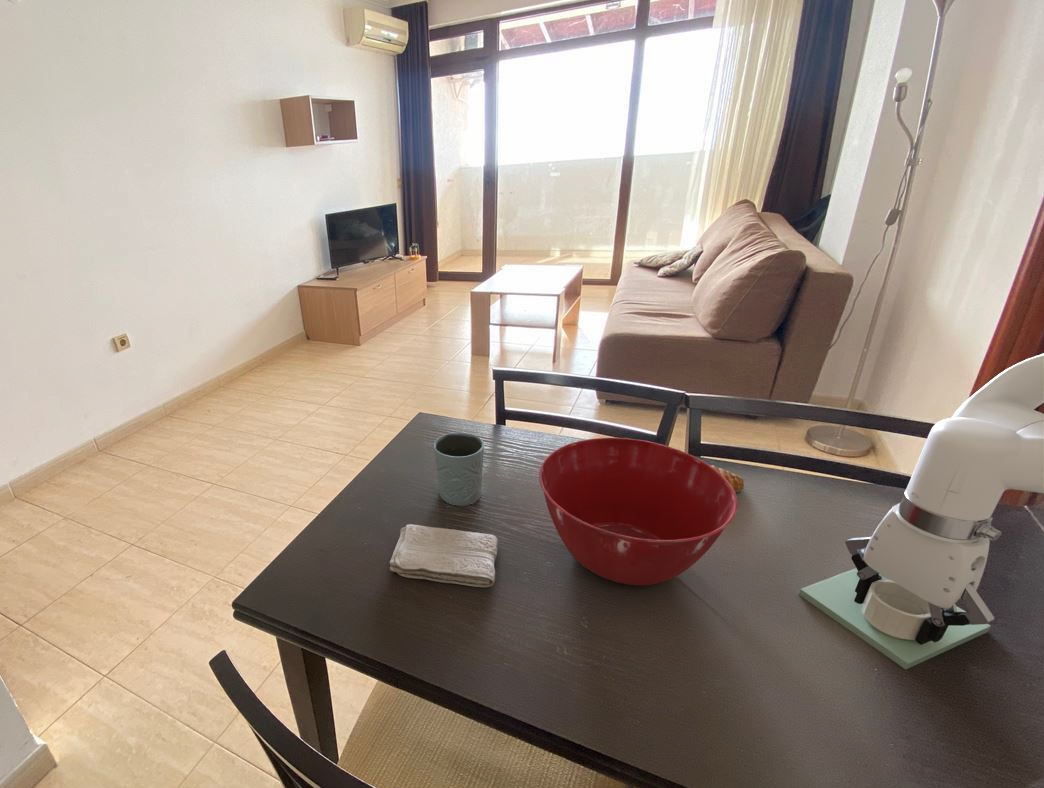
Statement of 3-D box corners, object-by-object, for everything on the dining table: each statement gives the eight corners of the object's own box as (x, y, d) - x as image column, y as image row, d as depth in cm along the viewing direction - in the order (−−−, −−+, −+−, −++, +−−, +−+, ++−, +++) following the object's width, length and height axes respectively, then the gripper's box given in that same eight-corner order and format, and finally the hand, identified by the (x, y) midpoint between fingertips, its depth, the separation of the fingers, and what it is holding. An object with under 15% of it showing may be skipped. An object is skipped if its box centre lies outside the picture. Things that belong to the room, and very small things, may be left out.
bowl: (881, 598, 78) (892, 574, 76) (937, 633, 72) (950, 608, 70) (848, 612, 76) (858, 587, 75) (902, 648, 71) (914, 623, 69)
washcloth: (402, 532, 102) (401, 519, 101) (499, 543, 97) (499, 529, 96) (387, 577, 92) (386, 563, 90) (494, 591, 87) (494, 576, 86)
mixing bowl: (741, 637, 76) (765, 551, 69) (531, 604, 84) (535, 524, 77) (696, 515, 100) (712, 443, 93) (537, 499, 108) (541, 432, 102)
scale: (874, 566, 86) (880, 551, 84) (987, 632, 73) (996, 616, 72) (798, 594, 82) (803, 579, 80) (905, 669, 69) (913, 653, 68)
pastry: (738, 479, 109) (743, 463, 107) (745, 499, 103) (750, 482, 101) (686, 473, 112) (689, 458, 110) (690, 492, 106) (693, 475, 105)
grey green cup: (454, 514, 106) (453, 462, 101) (425, 490, 114) (423, 441, 109) (494, 496, 110) (495, 445, 105) (463, 475, 118) (462, 427, 113)
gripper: (1058, 550, 60) (993, 661, 68) (883, 472, 75) (846, 570, 83) (1015, 568, 58) (952, 680, 66) (844, 485, 73) (809, 584, 81)
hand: (893, 618), depth 74 cm, fingers closed on bowl, 6 cm apart
